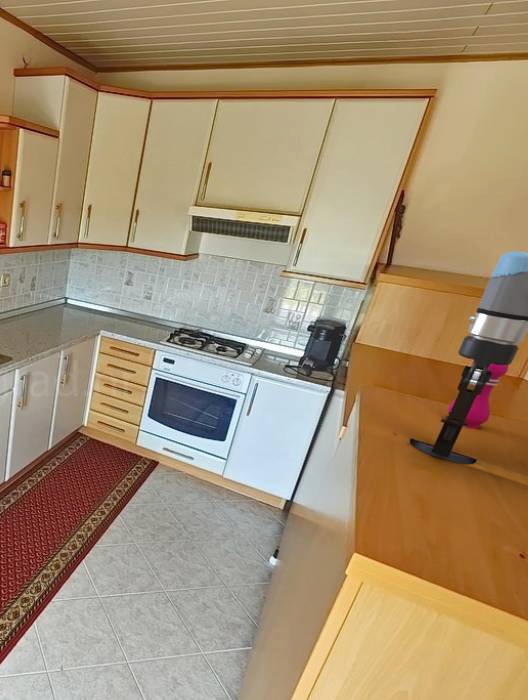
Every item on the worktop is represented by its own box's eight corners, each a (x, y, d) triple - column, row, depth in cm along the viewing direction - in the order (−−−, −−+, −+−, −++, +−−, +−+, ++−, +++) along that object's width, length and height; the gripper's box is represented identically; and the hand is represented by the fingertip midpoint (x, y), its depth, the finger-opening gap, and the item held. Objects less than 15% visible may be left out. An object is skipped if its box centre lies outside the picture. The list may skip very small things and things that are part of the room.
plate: (479, 455, 101) (482, 448, 101) (472, 469, 94) (476, 461, 94) (415, 434, 109) (418, 427, 108) (404, 446, 102) (407, 439, 101)
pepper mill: (474, 439, 110) (514, 354, 103) (435, 425, 116) (471, 345, 109) (484, 434, 114) (524, 352, 107) (447, 421, 120) (482, 343, 113)
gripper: (468, 331, 96) (421, 438, 104) (463, 337, 87) (412, 454, 95) (520, 341, 91) (466, 452, 99) (520, 349, 82) (461, 471, 90)
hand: (440, 453), depth 97 cm, fingers closed
